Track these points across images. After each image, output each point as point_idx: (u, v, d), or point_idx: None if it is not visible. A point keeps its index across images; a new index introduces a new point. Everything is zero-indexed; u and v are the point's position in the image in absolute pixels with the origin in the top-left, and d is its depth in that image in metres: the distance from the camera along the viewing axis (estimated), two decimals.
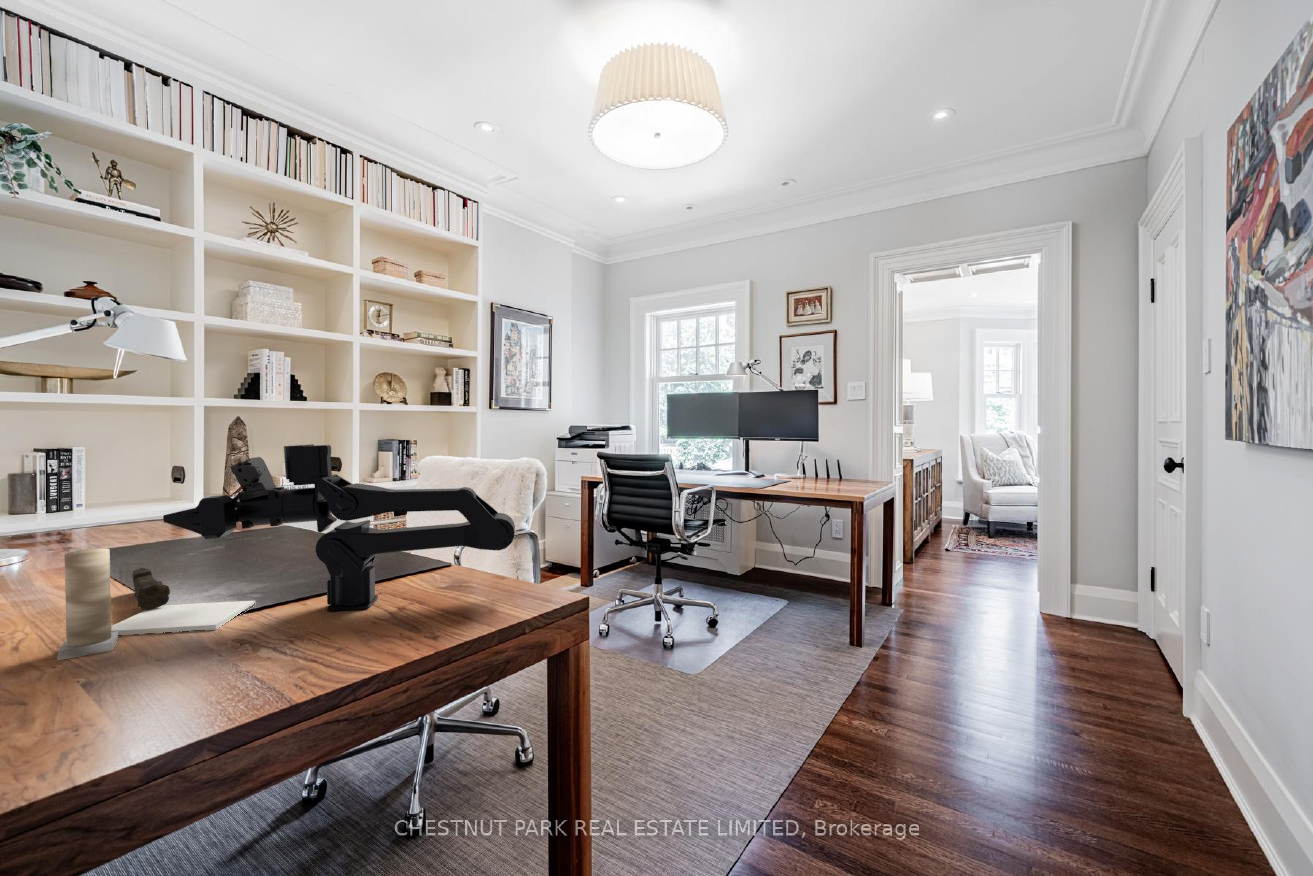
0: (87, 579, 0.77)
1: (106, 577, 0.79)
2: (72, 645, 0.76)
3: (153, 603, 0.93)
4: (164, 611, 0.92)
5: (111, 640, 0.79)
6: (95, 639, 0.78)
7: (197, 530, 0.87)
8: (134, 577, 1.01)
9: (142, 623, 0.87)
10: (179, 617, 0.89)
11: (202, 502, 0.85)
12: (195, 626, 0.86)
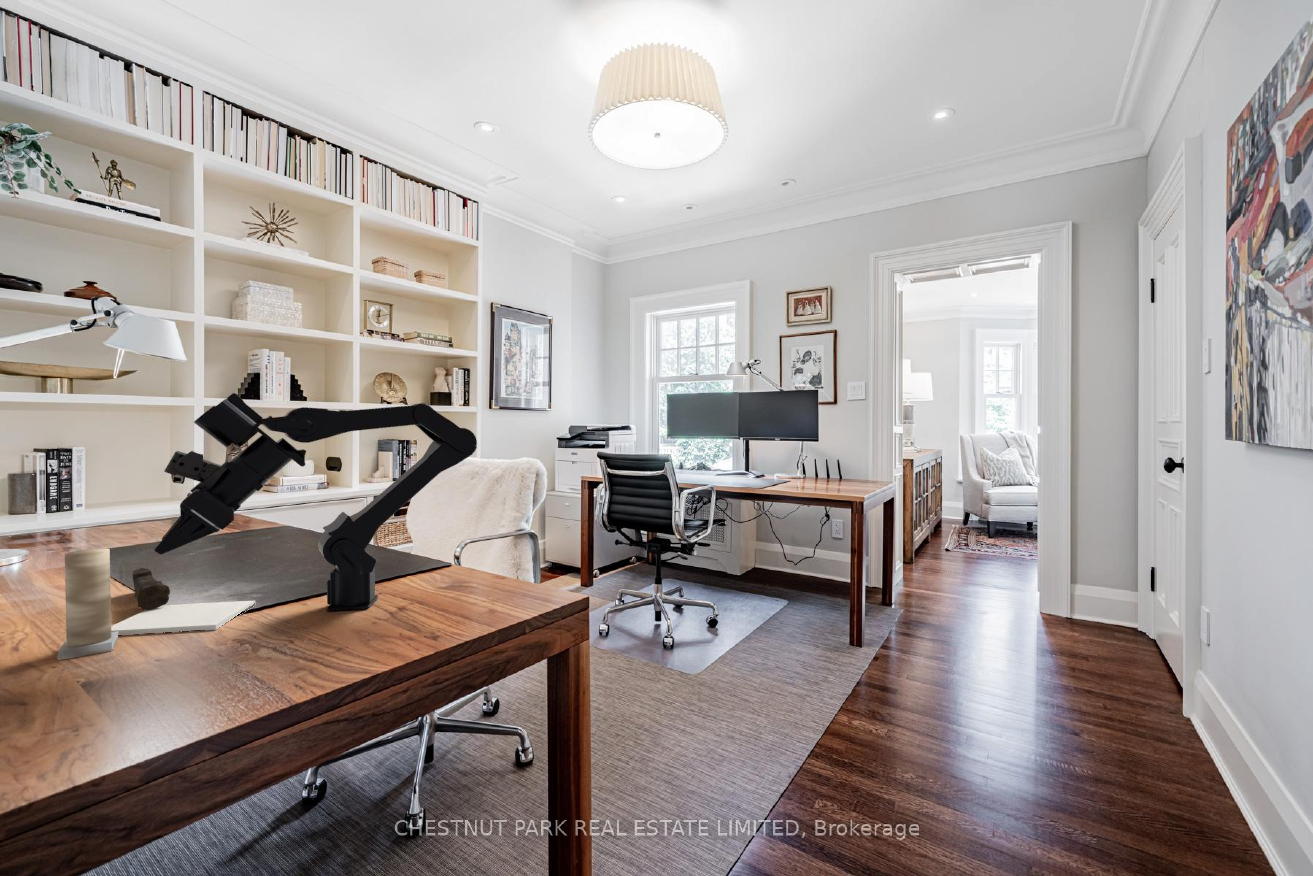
0: (87, 579, 0.77)
1: (106, 577, 0.79)
2: (72, 645, 0.76)
3: (153, 603, 0.93)
4: (164, 611, 0.92)
5: (111, 640, 0.79)
6: (95, 639, 0.78)
7: (203, 534, 0.81)
8: (134, 577, 1.01)
9: (142, 623, 0.87)
10: (179, 617, 0.89)
11: (187, 503, 0.77)
12: (195, 626, 0.86)
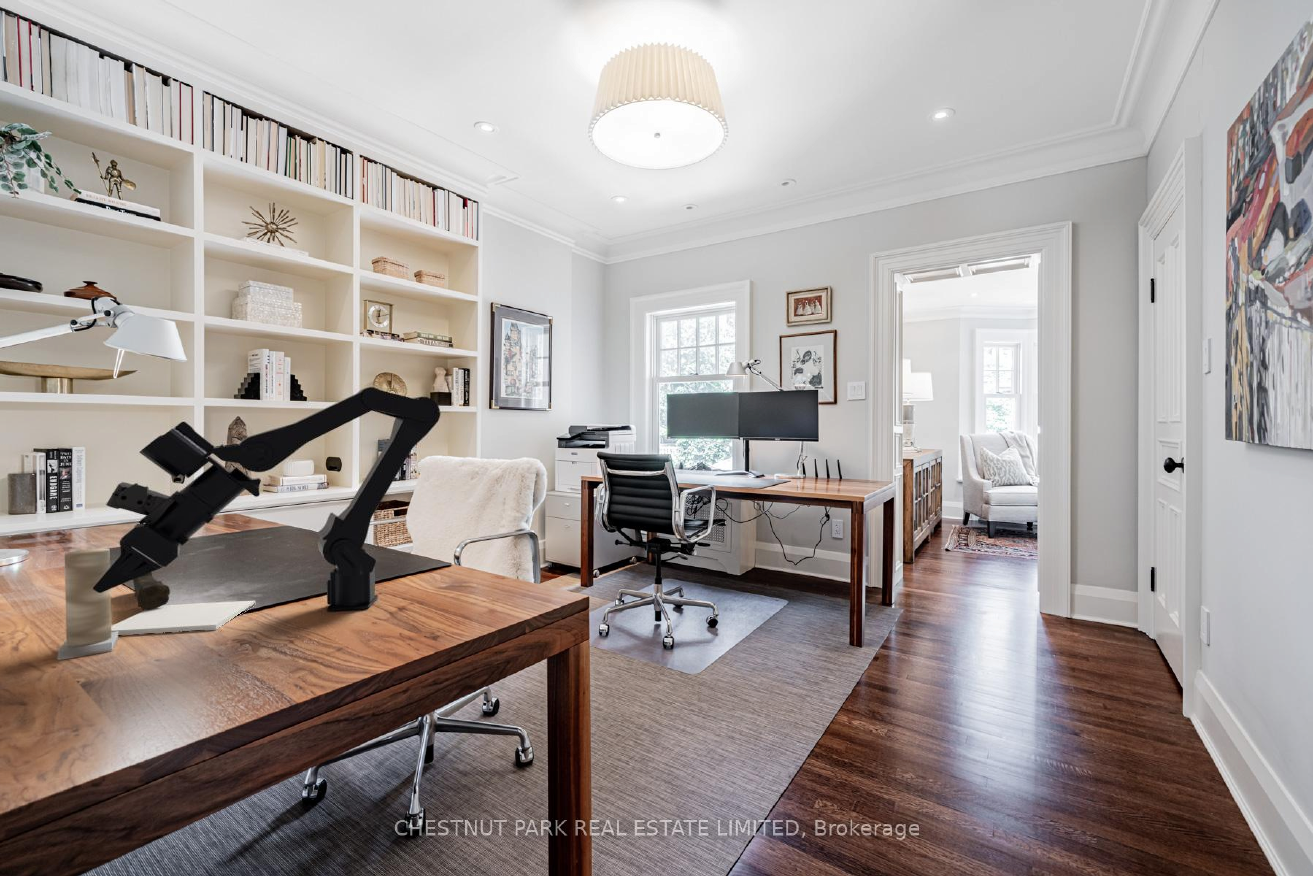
0: (87, 579, 0.77)
1: None
2: (72, 645, 0.76)
3: (153, 603, 0.93)
4: (164, 611, 0.92)
5: (111, 640, 0.79)
6: (95, 639, 0.78)
7: (145, 571, 0.77)
8: None
9: (142, 623, 0.87)
10: (179, 617, 0.89)
11: (126, 540, 0.74)
12: (195, 626, 0.86)
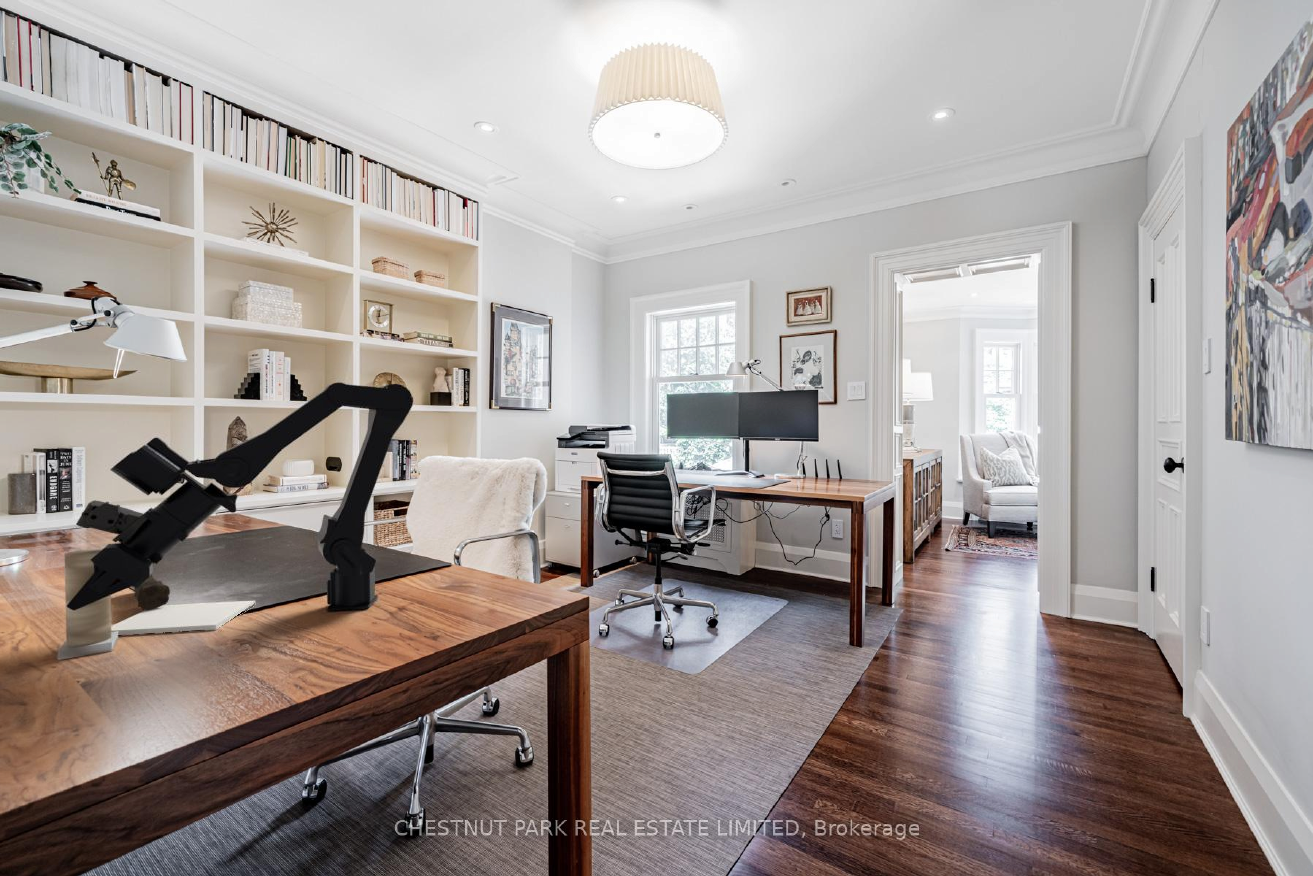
0: (87, 578, 0.77)
1: None
2: (72, 645, 0.76)
3: (153, 603, 0.93)
4: (164, 611, 0.92)
5: (111, 640, 0.79)
6: (95, 639, 0.78)
7: (119, 588, 0.77)
8: None
9: (142, 623, 0.87)
10: (179, 617, 0.89)
11: (95, 561, 0.72)
12: (195, 626, 0.86)
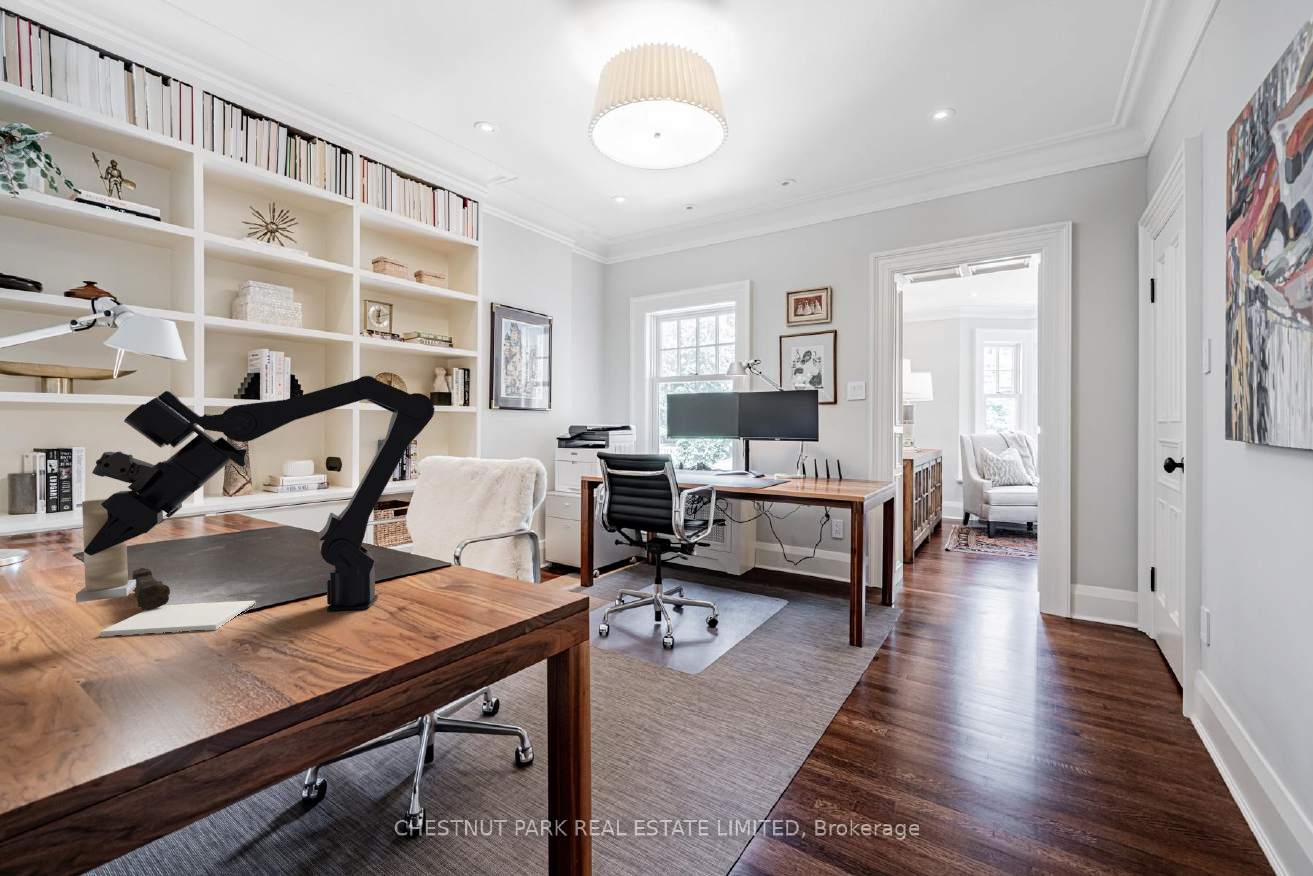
0: (102, 525, 0.79)
1: None
2: (90, 589, 0.79)
3: (153, 603, 0.93)
4: (164, 611, 0.92)
5: (126, 586, 0.81)
6: (111, 584, 0.80)
7: (132, 535, 0.80)
8: (134, 577, 1.01)
9: (142, 623, 0.87)
10: (179, 617, 0.89)
11: (105, 506, 0.74)
12: (195, 626, 0.86)
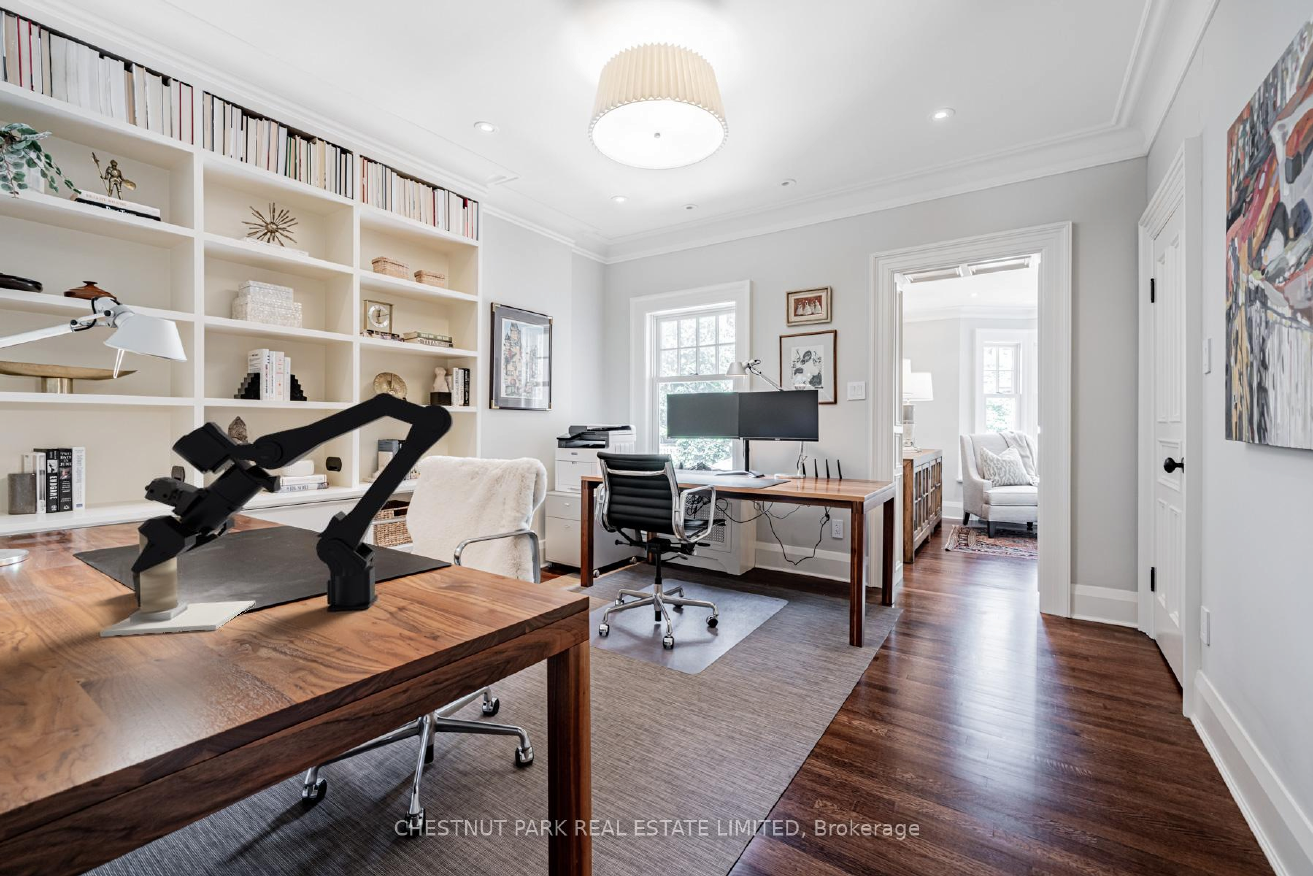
0: None
1: None
2: (142, 611, 0.88)
3: None
4: None
5: (172, 610, 0.89)
6: (159, 608, 0.88)
7: (168, 557, 0.86)
8: (134, 577, 1.01)
9: (142, 623, 0.87)
10: (179, 617, 0.89)
11: (140, 530, 0.81)
12: (195, 626, 0.86)
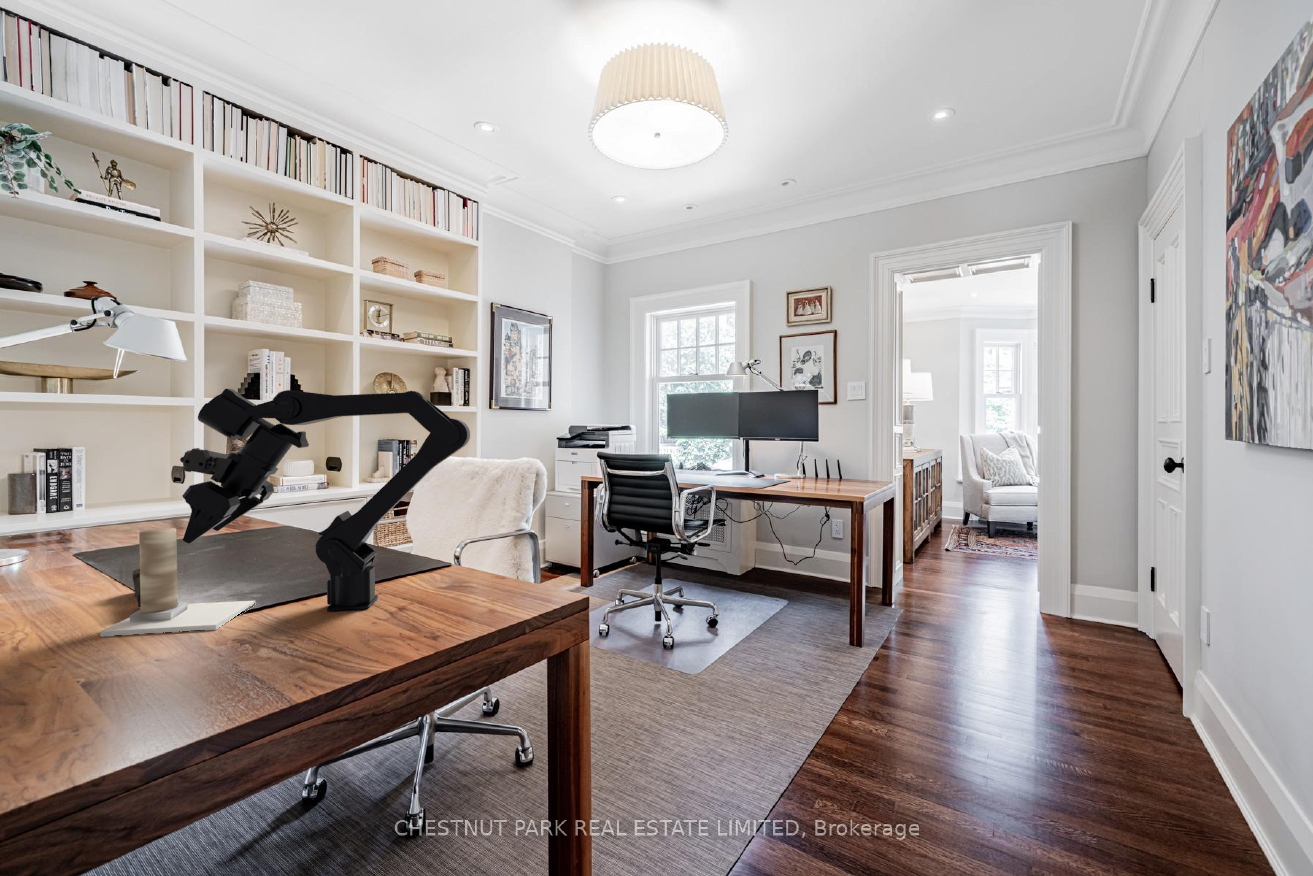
0: (152, 554, 0.88)
1: (170, 554, 0.89)
2: (142, 611, 0.88)
3: None
4: None
5: (172, 610, 0.89)
6: (159, 608, 0.88)
7: (214, 522, 0.88)
8: (134, 577, 1.01)
9: (142, 623, 0.87)
10: (179, 617, 0.89)
11: (185, 497, 0.84)
12: (195, 626, 0.86)
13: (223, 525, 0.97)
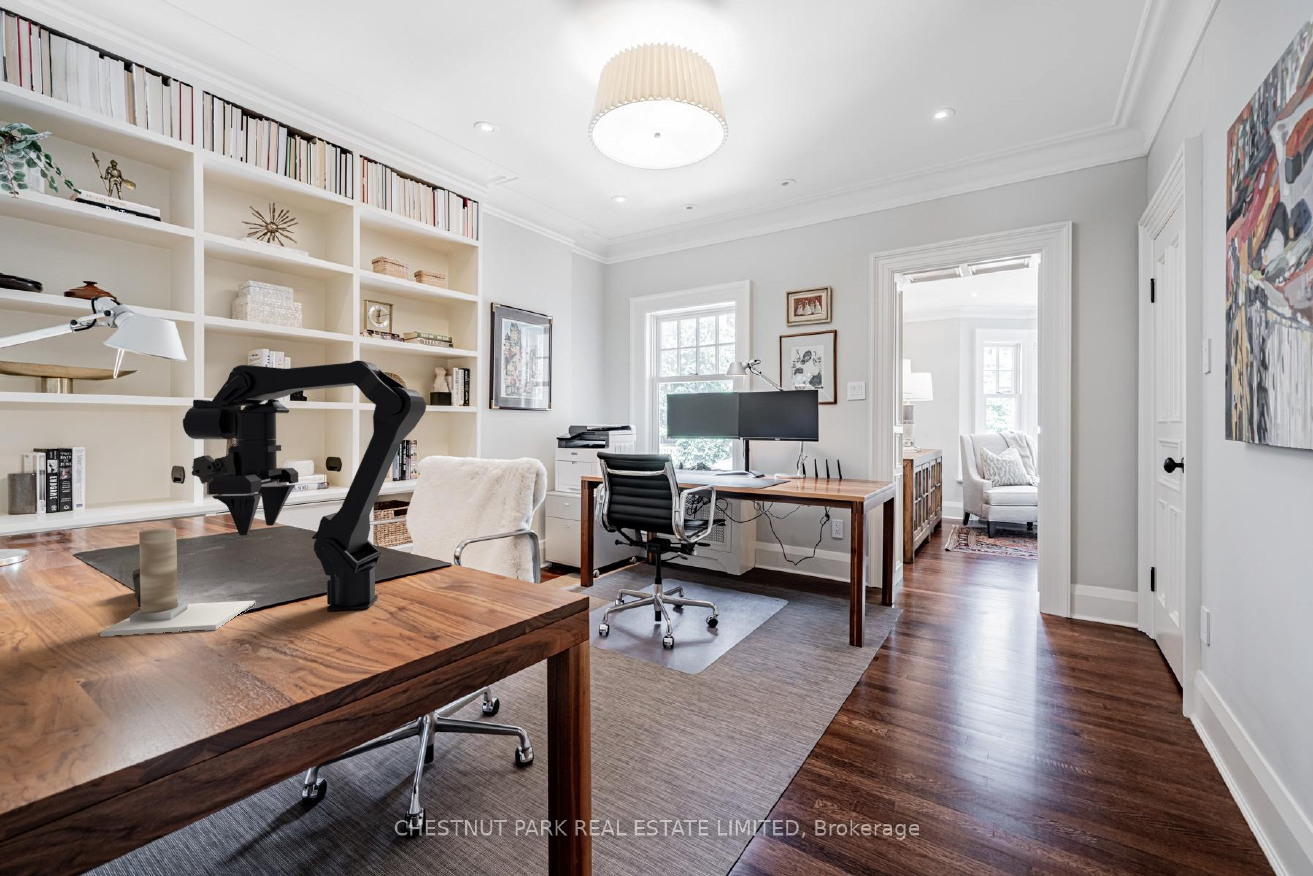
0: (152, 554, 0.88)
1: (170, 554, 0.89)
2: (142, 611, 0.88)
3: None
4: None
5: (172, 610, 0.89)
6: (159, 608, 0.88)
7: (251, 504, 0.92)
8: (134, 577, 1.01)
9: (142, 623, 0.87)
10: (179, 617, 0.89)
11: (209, 493, 0.88)
12: (195, 626, 0.86)
13: (274, 518, 1.02)
